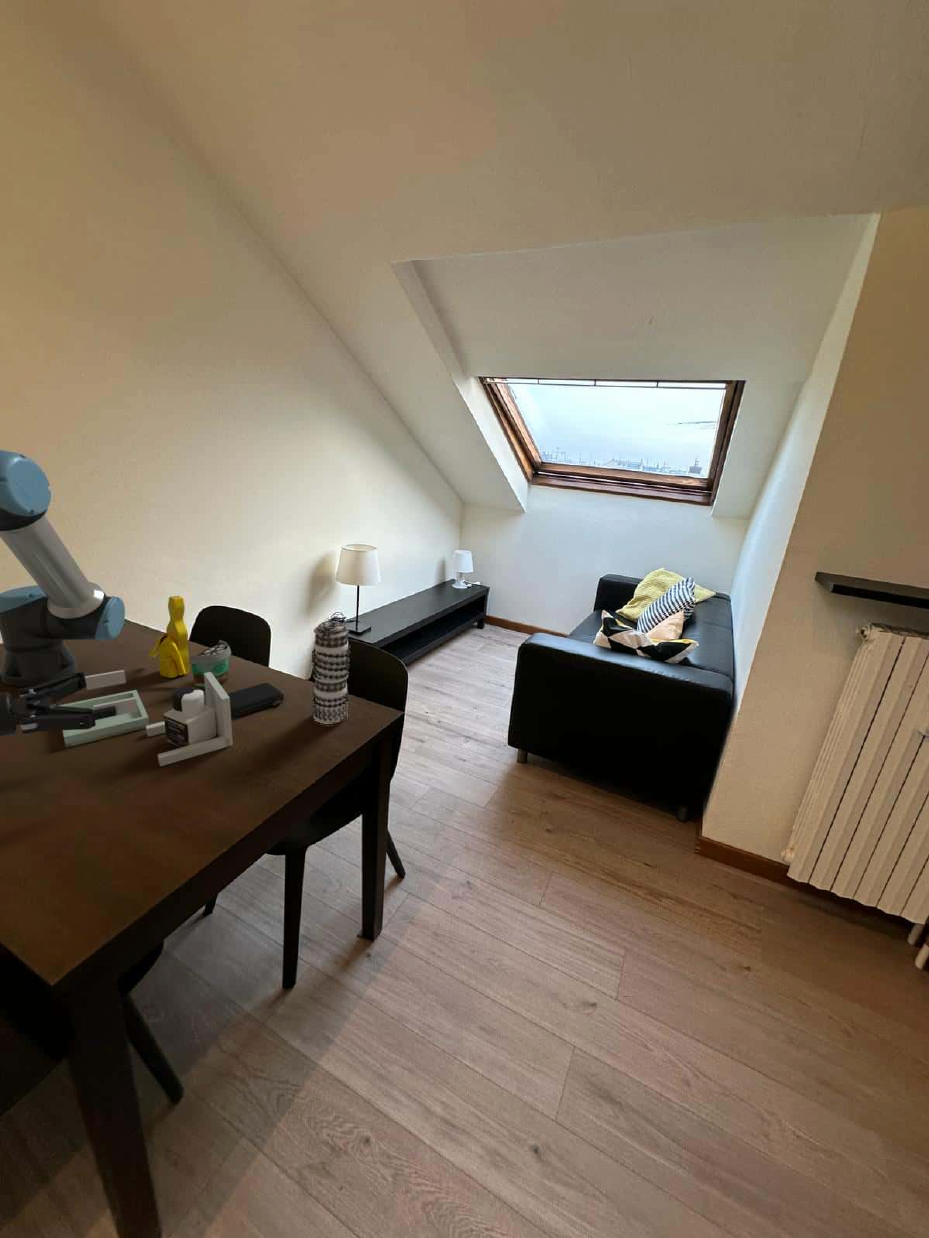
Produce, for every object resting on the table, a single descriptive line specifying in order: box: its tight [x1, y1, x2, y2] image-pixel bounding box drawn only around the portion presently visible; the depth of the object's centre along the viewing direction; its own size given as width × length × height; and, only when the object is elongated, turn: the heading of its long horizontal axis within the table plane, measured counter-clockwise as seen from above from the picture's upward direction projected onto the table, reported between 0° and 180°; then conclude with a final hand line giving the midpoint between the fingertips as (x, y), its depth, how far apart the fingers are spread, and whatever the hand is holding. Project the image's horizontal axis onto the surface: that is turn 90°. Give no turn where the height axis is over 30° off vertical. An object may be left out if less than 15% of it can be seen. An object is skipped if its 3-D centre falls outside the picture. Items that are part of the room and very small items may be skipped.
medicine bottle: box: [163, 686, 217, 748], centre depth 107 cm, size 7×7×12 cm
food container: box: [189, 639, 232, 690], centre depth 131 cm, size 12×6×10 cm, turn 168°
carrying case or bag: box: [227, 682, 285, 718], centre depth 124 cm, size 11×3×15 cm
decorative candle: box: [311, 620, 352, 724], centre depth 119 cm, size 9×9×25 cm
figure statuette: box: [148, 595, 191, 679], centre depth 132 cm, size 18×8×22 cm, turn 58°
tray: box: [58, 689, 150, 748], centre depth 111 cm, size 15×15×2 cm
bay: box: [145, 672, 234, 767], centre depth 106 cm, size 14×14×12 cm
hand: (130, 689), depth 97 cm, fingers open, 13 cm apart
